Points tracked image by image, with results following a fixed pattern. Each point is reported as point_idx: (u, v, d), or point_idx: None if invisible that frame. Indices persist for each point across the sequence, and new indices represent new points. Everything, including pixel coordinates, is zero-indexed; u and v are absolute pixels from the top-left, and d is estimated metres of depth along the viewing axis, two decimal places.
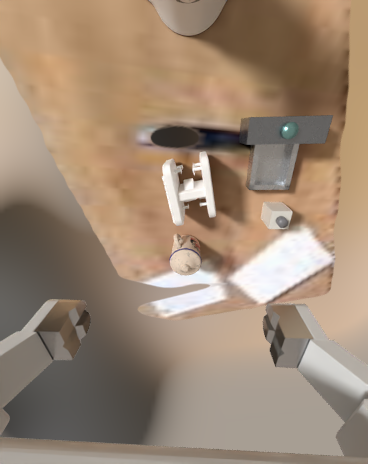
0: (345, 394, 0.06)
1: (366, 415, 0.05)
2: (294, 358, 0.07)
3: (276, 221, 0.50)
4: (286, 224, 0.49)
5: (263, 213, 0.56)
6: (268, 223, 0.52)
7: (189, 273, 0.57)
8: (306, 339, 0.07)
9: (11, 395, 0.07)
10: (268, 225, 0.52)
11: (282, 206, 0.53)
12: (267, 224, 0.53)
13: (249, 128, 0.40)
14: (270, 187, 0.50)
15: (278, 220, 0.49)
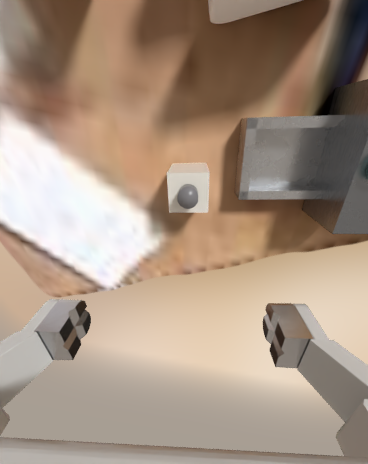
0: (345, 394, 0.06)
1: (366, 415, 0.05)
2: (294, 358, 0.07)
3: (187, 185, 0.23)
4: (185, 205, 0.23)
5: (186, 164, 0.28)
6: (178, 171, 0.24)
7: None
8: (306, 339, 0.07)
9: (11, 395, 0.07)
10: (173, 172, 0.24)
11: None
12: (173, 170, 0.24)
13: None
14: (247, 164, 0.26)
15: (192, 188, 0.23)
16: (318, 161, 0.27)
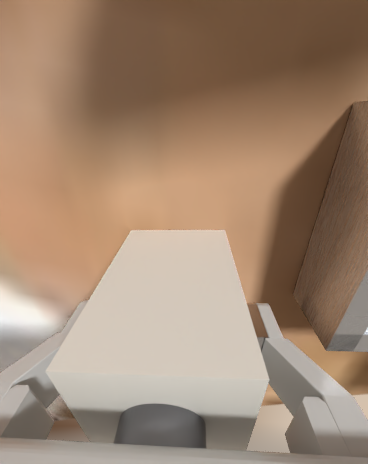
0: (294, 392, 0.06)
1: (304, 412, 0.05)
2: None
3: (152, 435, 0.04)
4: None
5: (166, 244, 0.09)
6: (114, 344, 0.05)
7: None
8: (261, 338, 0.07)
9: (53, 397, 0.07)
10: (89, 347, 0.05)
11: None
12: (98, 321, 0.06)
13: None
14: None
15: None
16: None
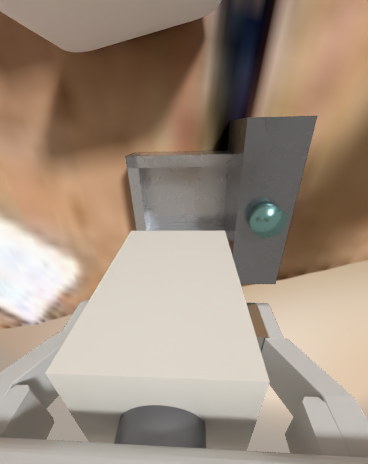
0: (294, 392, 0.06)
1: (304, 412, 0.05)
2: None
3: (152, 437, 0.04)
4: None
5: (166, 245, 0.09)
6: (114, 345, 0.05)
7: None
8: (261, 338, 0.07)
9: (53, 397, 0.07)
10: (89, 348, 0.05)
11: None
12: (98, 323, 0.06)
13: (289, 119, 0.15)
14: (137, 204, 0.23)
15: None
16: (224, 198, 0.25)
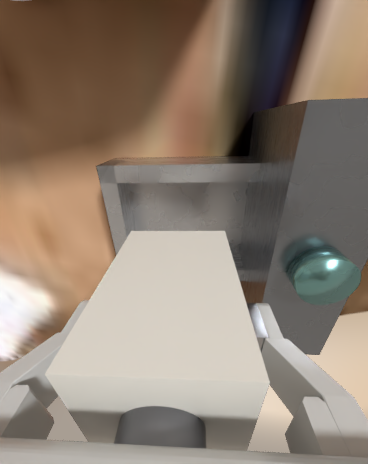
0: (294, 392, 0.06)
1: (304, 412, 0.05)
2: None
3: (152, 438, 0.04)
4: None
5: (166, 245, 0.09)
6: (113, 346, 0.05)
7: None
8: (261, 338, 0.07)
9: (53, 397, 0.07)
10: (88, 349, 0.05)
11: None
12: (98, 323, 0.06)
13: None
14: (118, 234, 0.16)
15: None
16: (241, 222, 0.18)
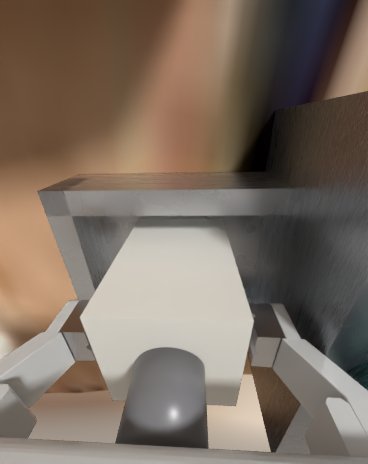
0: (314, 393, 0.06)
1: (327, 413, 0.05)
2: (268, 357, 0.07)
3: (163, 367, 0.06)
4: None
5: (170, 230, 0.10)
6: (131, 300, 0.06)
7: None
8: (278, 338, 0.07)
9: (36, 396, 0.07)
10: (111, 302, 0.06)
11: None
12: (117, 285, 0.07)
13: None
14: (81, 283, 0.11)
15: (182, 399, 0.05)
16: (254, 260, 0.13)
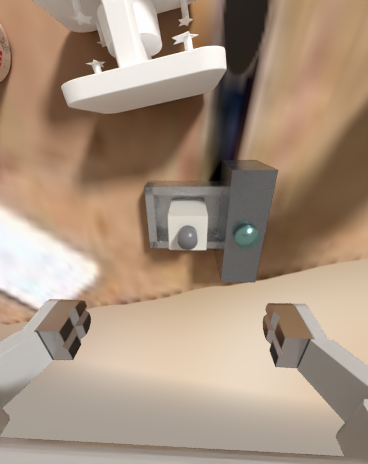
0: (345, 394, 0.06)
1: (366, 415, 0.05)
2: (294, 358, 0.07)
3: (187, 227, 0.25)
4: (185, 246, 0.24)
5: (185, 201, 0.29)
6: (178, 213, 0.25)
7: None
8: (306, 339, 0.07)
9: (11, 395, 0.07)
10: (173, 214, 0.25)
11: None
12: (173, 211, 0.26)
13: (259, 171, 0.22)
14: (151, 221, 0.30)
15: (192, 231, 0.24)
16: (217, 216, 0.32)
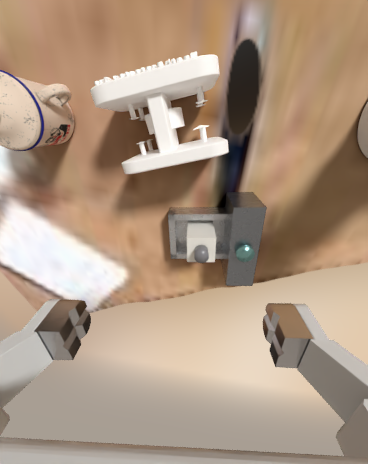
0: (345, 394, 0.06)
1: (366, 415, 0.05)
2: (294, 358, 0.07)
3: (201, 246, 0.34)
4: (200, 260, 0.33)
5: (198, 224, 0.38)
6: (194, 236, 0.34)
7: None
8: (306, 339, 0.07)
9: (11, 395, 0.07)
10: (191, 236, 0.34)
11: None
12: (190, 234, 0.35)
13: (253, 208, 0.31)
14: (172, 239, 0.39)
15: (204, 249, 0.33)
16: (223, 233, 0.41)
